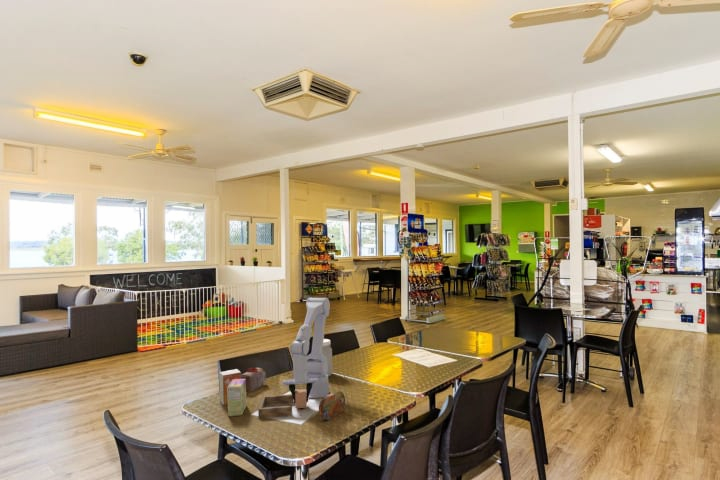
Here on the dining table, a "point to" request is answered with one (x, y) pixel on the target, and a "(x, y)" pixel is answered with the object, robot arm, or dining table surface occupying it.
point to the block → (301, 398)
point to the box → (236, 397)
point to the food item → (253, 378)
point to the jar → (327, 355)
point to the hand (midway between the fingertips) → (301, 401)
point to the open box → (275, 411)
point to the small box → (227, 383)
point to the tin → (331, 405)
